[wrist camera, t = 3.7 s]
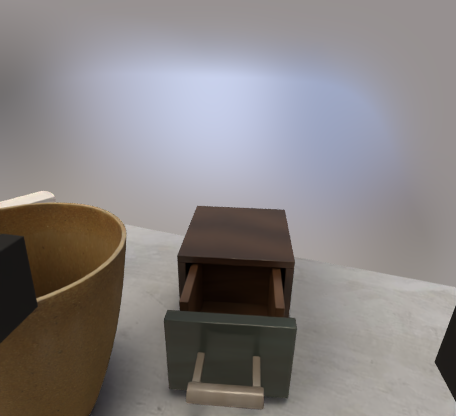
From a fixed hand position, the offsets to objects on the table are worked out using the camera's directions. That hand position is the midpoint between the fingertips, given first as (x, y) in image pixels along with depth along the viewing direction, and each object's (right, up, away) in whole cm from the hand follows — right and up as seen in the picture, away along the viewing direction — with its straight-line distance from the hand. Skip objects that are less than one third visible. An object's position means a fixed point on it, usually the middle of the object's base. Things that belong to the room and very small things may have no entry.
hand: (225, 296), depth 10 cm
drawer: (0, -12, +22) cm, 25 cm away
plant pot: (-15, -14, +19) cm, 28 cm away
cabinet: (+1, -9, +33) cm, 34 cm away
